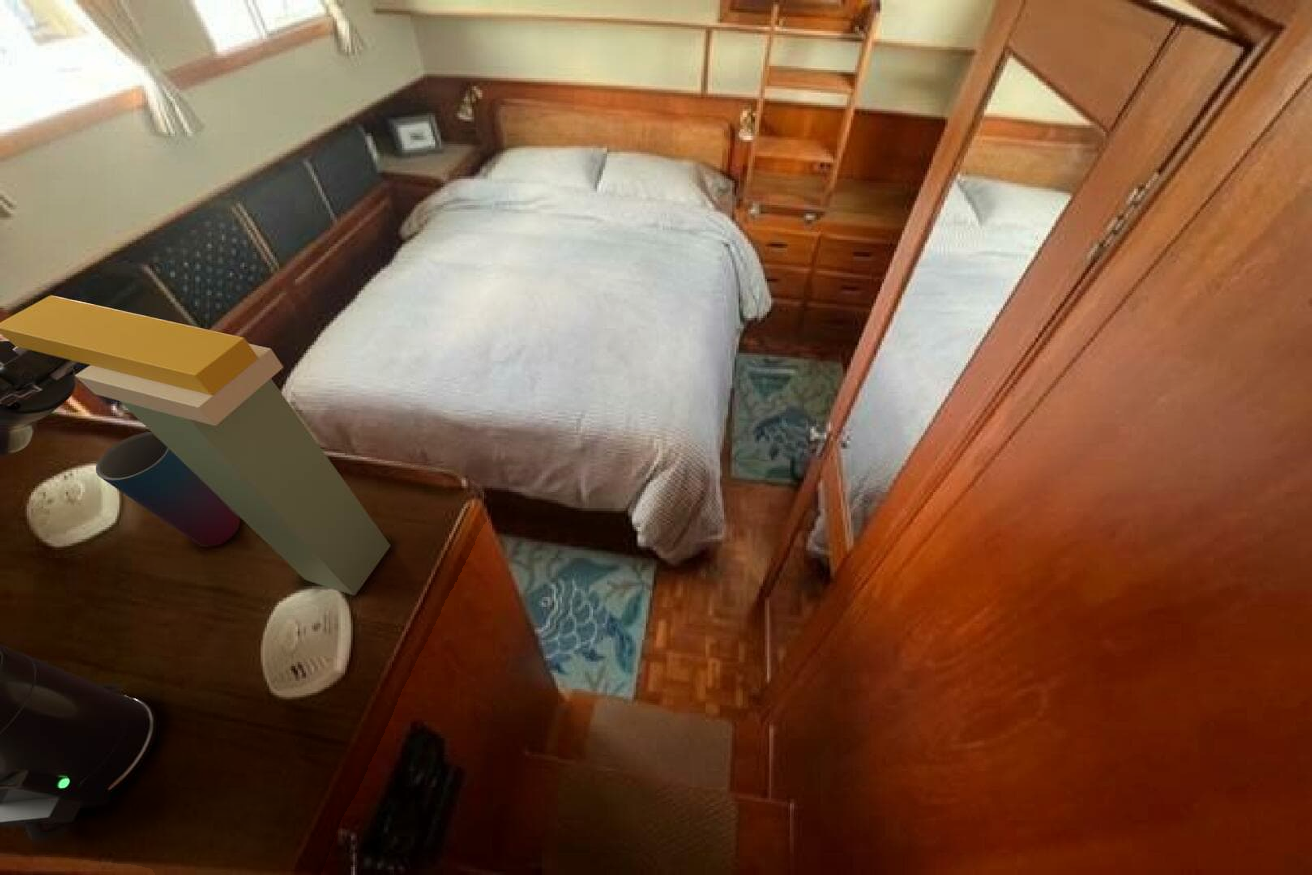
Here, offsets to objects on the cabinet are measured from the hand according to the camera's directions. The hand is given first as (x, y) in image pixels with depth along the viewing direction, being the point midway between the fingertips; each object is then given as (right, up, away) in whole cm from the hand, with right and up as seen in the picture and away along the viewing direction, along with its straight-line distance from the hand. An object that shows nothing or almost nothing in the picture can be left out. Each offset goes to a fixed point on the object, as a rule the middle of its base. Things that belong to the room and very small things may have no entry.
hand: (47, 347), depth 47 cm
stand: (+16, -23, +19) cm, 34 cm away
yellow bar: (+12, -1, -4) cm, 12 cm away
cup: (-3, -20, +22) cm, 30 cm away
